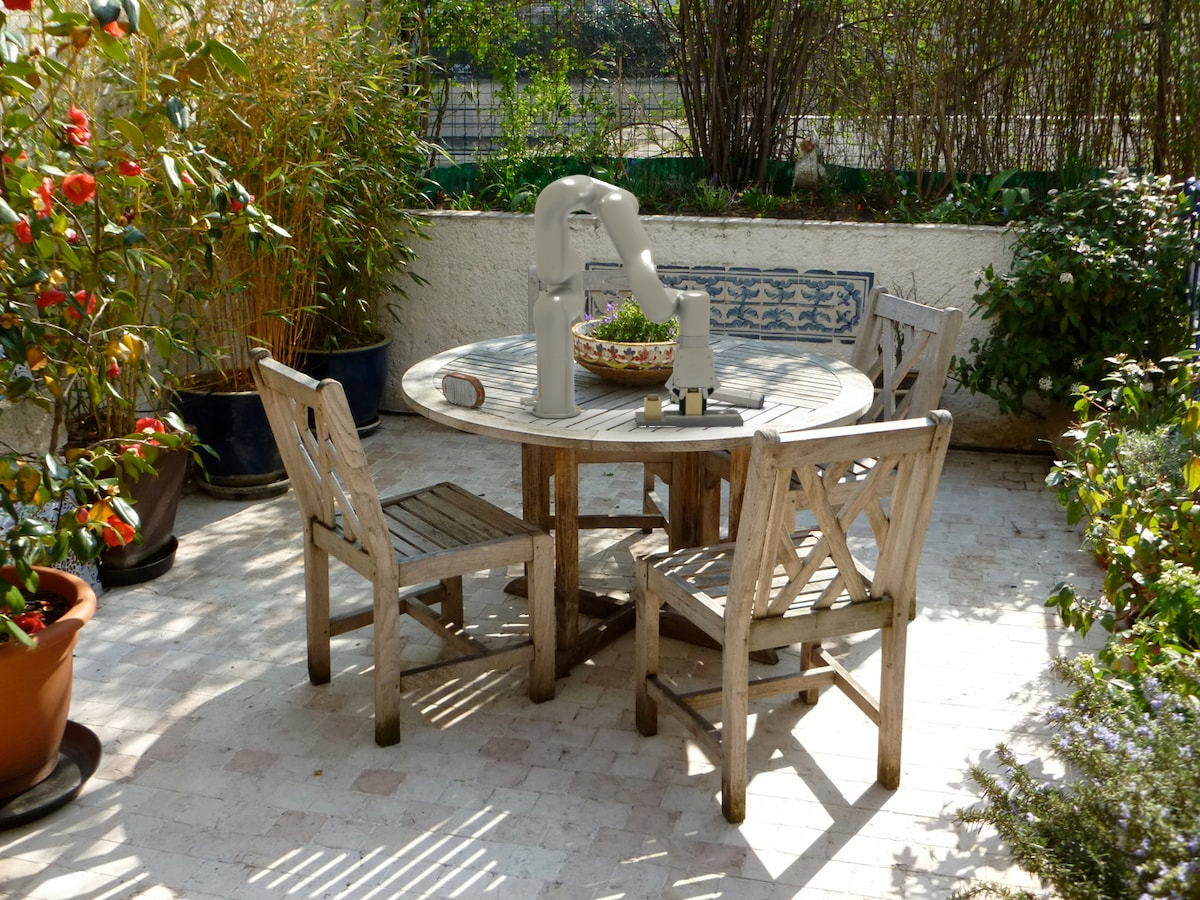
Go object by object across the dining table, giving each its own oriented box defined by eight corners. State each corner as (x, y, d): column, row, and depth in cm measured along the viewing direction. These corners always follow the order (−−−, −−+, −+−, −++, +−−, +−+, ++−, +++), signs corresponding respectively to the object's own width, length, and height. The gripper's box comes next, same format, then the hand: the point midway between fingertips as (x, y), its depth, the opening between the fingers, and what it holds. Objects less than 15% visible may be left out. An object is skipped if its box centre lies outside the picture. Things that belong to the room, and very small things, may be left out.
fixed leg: (645, 418, 293) (645, 397, 291) (644, 414, 296) (644, 393, 295) (661, 418, 293) (661, 396, 291) (659, 414, 297) (660, 393, 295)
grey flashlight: (762, 396, 305) (669, 377, 312) (757, 421, 307) (666, 401, 314) (765, 392, 310) (674, 373, 316) (761, 416, 312) (671, 397, 319)
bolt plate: (638, 427, 290) (638, 418, 289) (635, 417, 300) (635, 408, 299) (743, 426, 291) (743, 417, 291) (736, 415, 301) (737, 407, 300)
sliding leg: (685, 416, 293) (686, 389, 291) (683, 412, 297) (684, 385, 295) (701, 416, 293) (702, 388, 291) (699, 412, 297) (700, 385, 295)
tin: (486, 409, 309) (485, 377, 307) (477, 411, 307) (476, 379, 305) (449, 399, 319) (448, 369, 317) (440, 402, 317) (439, 371, 315)
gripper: (661, 344, 286) (660, 417, 291) (730, 343, 287) (728, 416, 292) (658, 339, 293) (657, 410, 298) (725, 338, 294) (723, 409, 299)
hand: (692, 412), depth 295 cm, fingers closed on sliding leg, 4 cm apart
